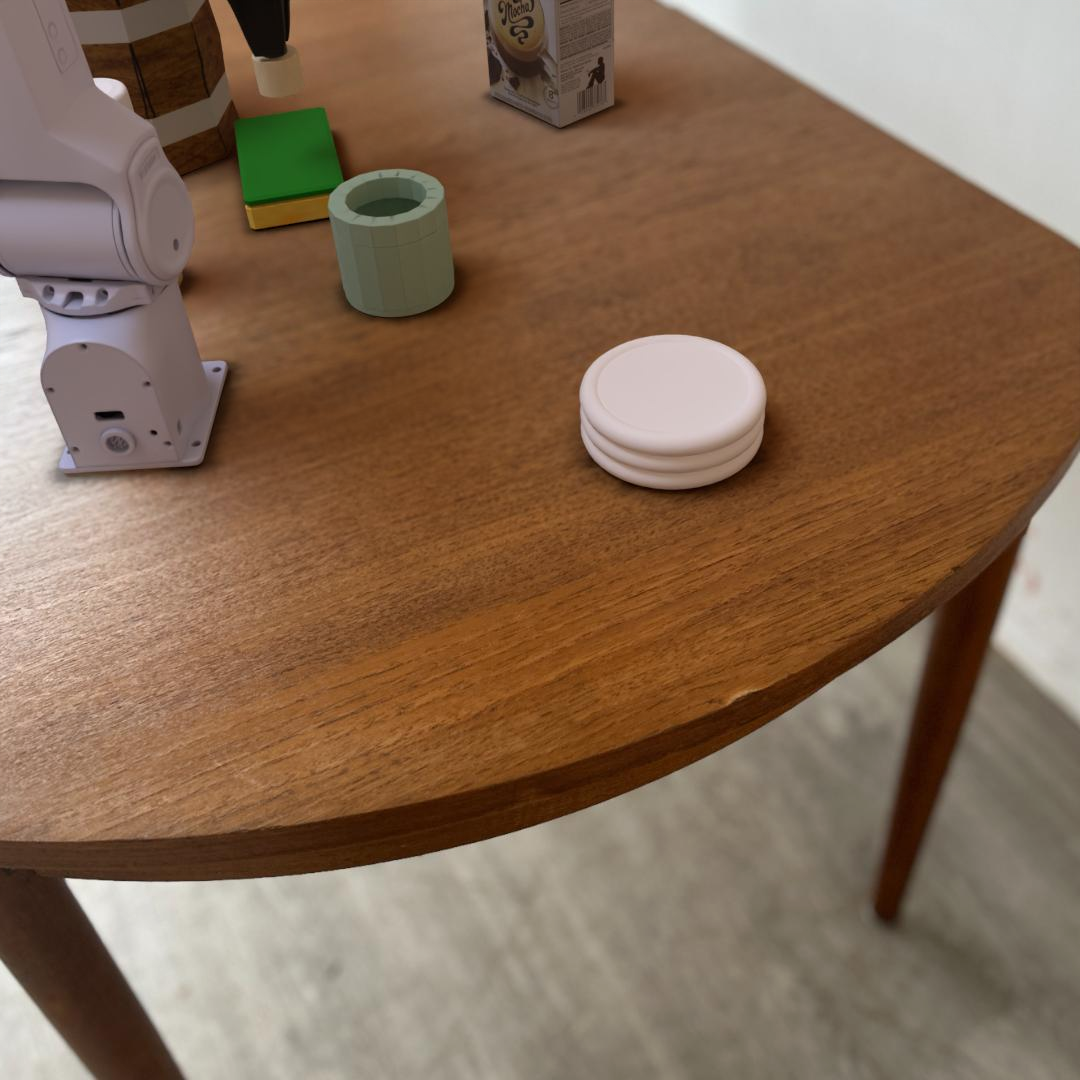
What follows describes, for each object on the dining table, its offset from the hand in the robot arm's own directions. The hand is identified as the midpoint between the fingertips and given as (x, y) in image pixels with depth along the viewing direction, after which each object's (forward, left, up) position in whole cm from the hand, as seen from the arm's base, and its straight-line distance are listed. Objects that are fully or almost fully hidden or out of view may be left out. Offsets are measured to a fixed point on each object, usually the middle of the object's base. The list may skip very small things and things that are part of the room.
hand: (271, 47), depth 82 cm
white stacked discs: (-32, -24, -11) cm, 41 cm away
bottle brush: (0, 0, -3) cm, 3 cm away
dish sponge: (+1, +1, -11) cm, 11 cm away
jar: (-15, -8, -10) cm, 20 cm away
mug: (+12, +13, -11) cm, 21 cm away
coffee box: (+12, -19, -11) cm, 25 cm away
